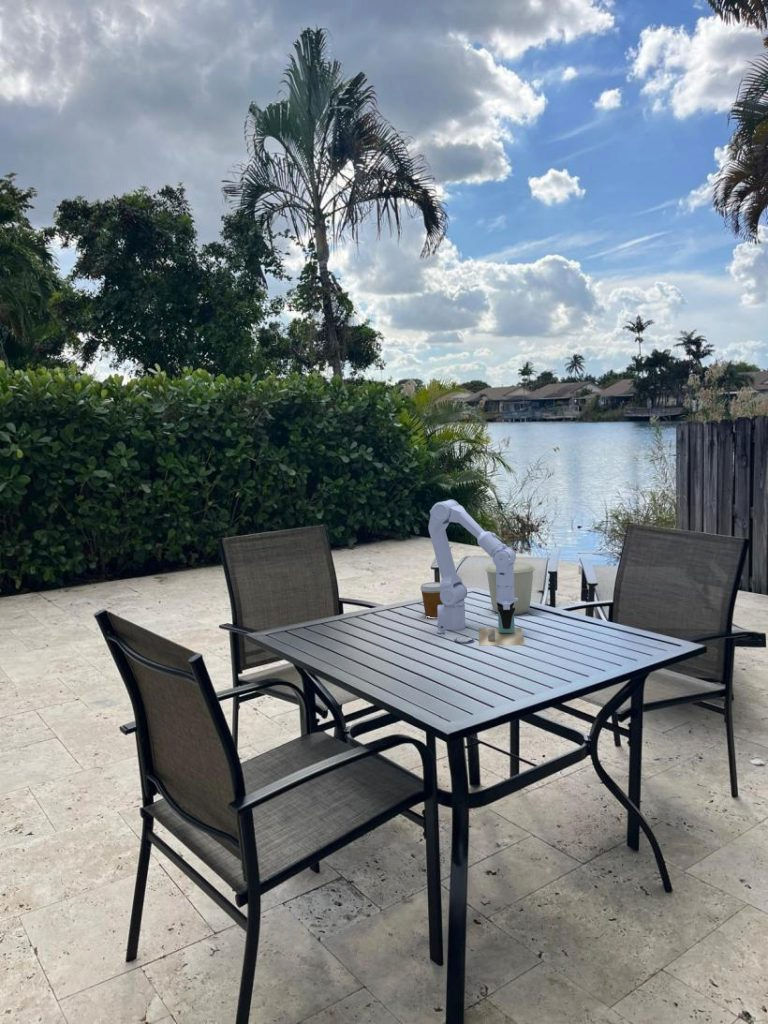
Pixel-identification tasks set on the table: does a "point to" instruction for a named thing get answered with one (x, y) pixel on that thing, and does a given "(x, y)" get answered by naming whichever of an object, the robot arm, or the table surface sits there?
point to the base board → (500, 637)
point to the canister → (521, 586)
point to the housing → (500, 626)
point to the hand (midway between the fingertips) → (506, 626)
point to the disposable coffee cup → (431, 598)
